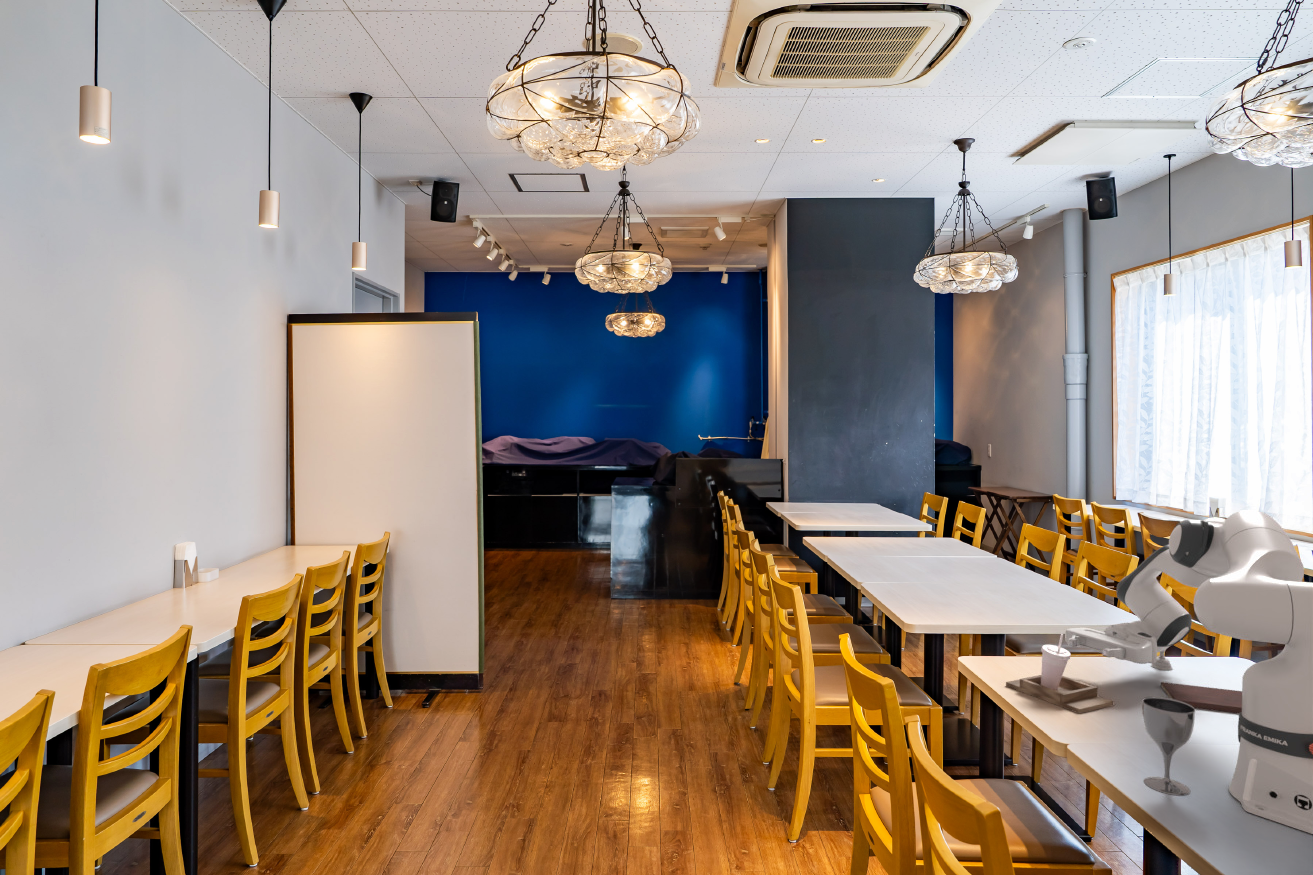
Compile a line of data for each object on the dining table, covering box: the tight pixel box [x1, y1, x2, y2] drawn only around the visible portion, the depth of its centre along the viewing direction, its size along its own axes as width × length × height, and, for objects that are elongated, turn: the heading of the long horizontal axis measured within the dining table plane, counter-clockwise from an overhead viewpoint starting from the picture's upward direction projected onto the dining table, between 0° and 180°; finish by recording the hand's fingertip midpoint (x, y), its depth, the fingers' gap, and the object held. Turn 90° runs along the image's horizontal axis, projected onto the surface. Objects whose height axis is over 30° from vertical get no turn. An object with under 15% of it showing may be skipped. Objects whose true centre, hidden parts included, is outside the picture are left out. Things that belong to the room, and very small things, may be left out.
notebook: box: [1160, 681, 1242, 715], centre depth 183 cm, size 15×20×2 cm
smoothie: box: [1040, 633, 1071, 690], centre depth 187 cm, size 6×6×14 cm
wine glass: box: [1141, 696, 1196, 796], centre depth 139 cm, size 8×8×15 cm
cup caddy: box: [1005, 674, 1114, 714], centre depth 186 cm, size 20×12×3 cm, turn 25°
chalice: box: [1150, 649, 1174, 671], centre depth 208 cm, size 7×7×18 cm
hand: (1087, 648), depth 190 cm, fingers open, 8 cm apart
